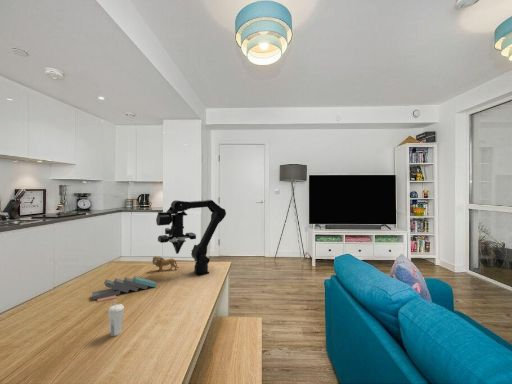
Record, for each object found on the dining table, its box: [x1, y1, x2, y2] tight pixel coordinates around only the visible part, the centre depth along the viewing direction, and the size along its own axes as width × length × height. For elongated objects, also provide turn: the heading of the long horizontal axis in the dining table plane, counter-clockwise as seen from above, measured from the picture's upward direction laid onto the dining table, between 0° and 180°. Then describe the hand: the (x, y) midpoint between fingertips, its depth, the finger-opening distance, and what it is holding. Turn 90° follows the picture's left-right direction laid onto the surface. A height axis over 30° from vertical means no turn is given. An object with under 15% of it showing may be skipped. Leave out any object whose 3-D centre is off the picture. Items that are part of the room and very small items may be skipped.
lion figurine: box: [152, 255, 179, 273], centre depth 144 cm, size 15×5×9 cm, turn 119°
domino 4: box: [122, 277, 149, 290], centre depth 116 cm, size 2×5×10 cm
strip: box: [96, 295, 117, 303], centre depth 109 cm, size 7×10×1 cm
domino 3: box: [113, 277, 140, 292], centre depth 114 cm, size 2×5×10 cm
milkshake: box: [107, 299, 125, 337], centre depth 81 cm, size 5×5×10 cm
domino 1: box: [91, 288, 121, 301], centre depth 109 cm, size 2×5×10 cm
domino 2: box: [103, 278, 130, 294], centre depth 112 cm, size 2×5×10 cm
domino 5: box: [132, 275, 158, 288], centre depth 119 cm, size 2×5×10 cm
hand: (177, 253), depth 132 cm, fingers closed
